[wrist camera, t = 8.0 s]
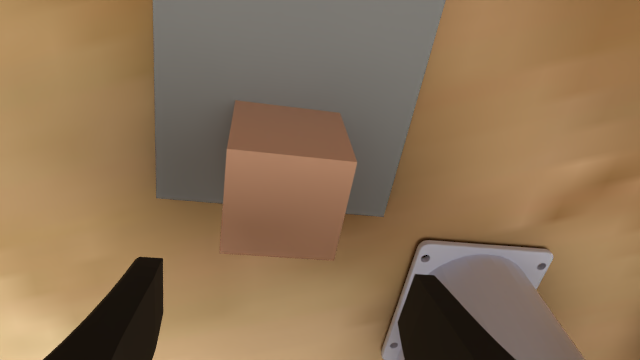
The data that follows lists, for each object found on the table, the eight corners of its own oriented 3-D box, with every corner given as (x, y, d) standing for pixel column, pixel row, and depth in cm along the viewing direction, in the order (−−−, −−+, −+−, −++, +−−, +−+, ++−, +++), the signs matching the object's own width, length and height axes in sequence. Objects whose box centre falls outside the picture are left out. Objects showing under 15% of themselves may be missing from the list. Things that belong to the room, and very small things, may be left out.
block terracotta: (322, 198, 22) (334, 260, 18) (228, 190, 21) (219, 253, 17) (339, 112, 20) (357, 162, 16) (235, 100, 19) (226, 148, 15)
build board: (380, 210, 23) (383, 217, 23) (158, 191, 21) (156, 198, 21) (523, -296, 14) (532, -304, 13) (151, -406, 12) (145, -420, 12)
